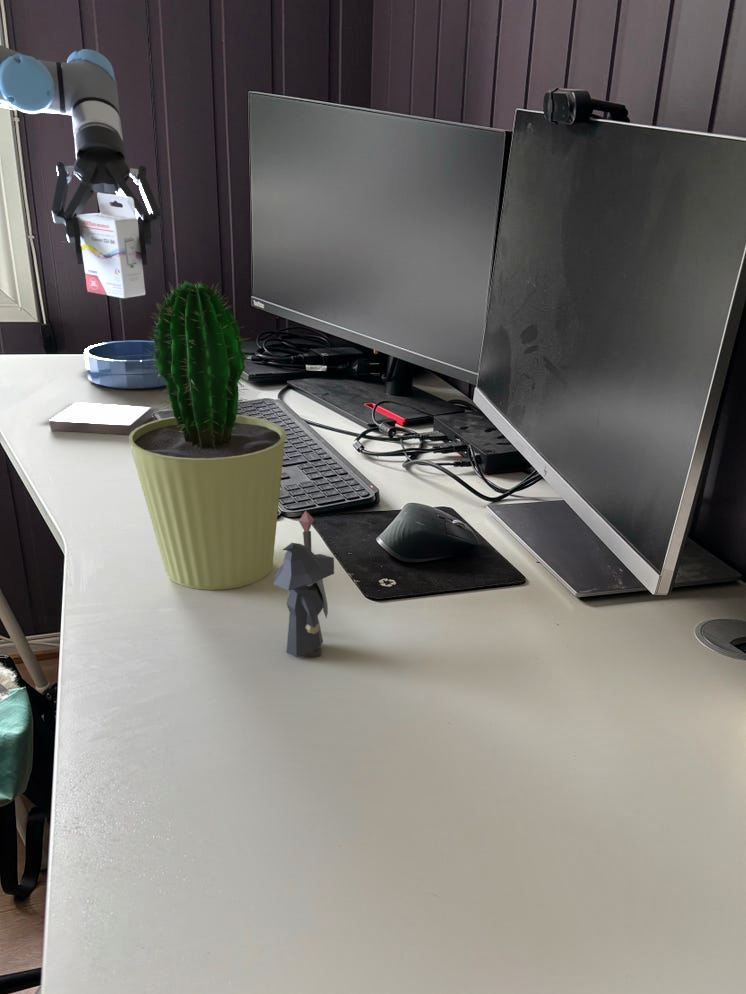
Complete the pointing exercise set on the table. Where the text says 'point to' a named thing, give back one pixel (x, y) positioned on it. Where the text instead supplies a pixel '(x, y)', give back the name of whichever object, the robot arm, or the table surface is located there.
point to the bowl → (123, 365)
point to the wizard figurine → (304, 592)
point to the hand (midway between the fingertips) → (112, 258)
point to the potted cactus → (208, 451)
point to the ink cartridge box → (112, 248)
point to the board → (101, 418)
